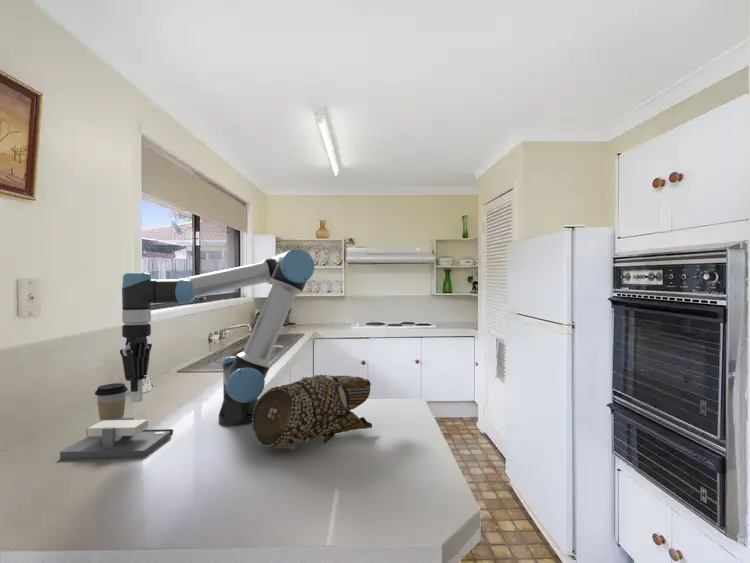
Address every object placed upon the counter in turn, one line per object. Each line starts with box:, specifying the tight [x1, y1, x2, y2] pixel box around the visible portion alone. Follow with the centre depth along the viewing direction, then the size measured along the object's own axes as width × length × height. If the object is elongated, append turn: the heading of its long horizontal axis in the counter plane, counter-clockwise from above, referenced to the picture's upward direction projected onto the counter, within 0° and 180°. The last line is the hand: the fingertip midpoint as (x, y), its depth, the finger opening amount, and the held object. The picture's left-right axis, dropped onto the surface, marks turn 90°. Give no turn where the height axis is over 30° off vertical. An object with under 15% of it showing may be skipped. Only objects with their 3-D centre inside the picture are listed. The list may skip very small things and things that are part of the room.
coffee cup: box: [94, 382, 129, 422], centre depth 139 cm, size 9×9×15 cm
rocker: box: [85, 419, 149, 437], centre depth 123 cm, size 14×7×2 cm, turn 90°
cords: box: [141, 428, 174, 436], centre depth 134 cm, size 17×3×1 cm, turn 90°
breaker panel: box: [59, 416, 172, 460], centre depth 123 cm, size 24×15×8 cm, turn 90°
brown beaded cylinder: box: [251, 374, 373, 449], centre depth 128 cm, size 24×22×35 cm
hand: (136, 401), depth 123 cm, fingers closed
